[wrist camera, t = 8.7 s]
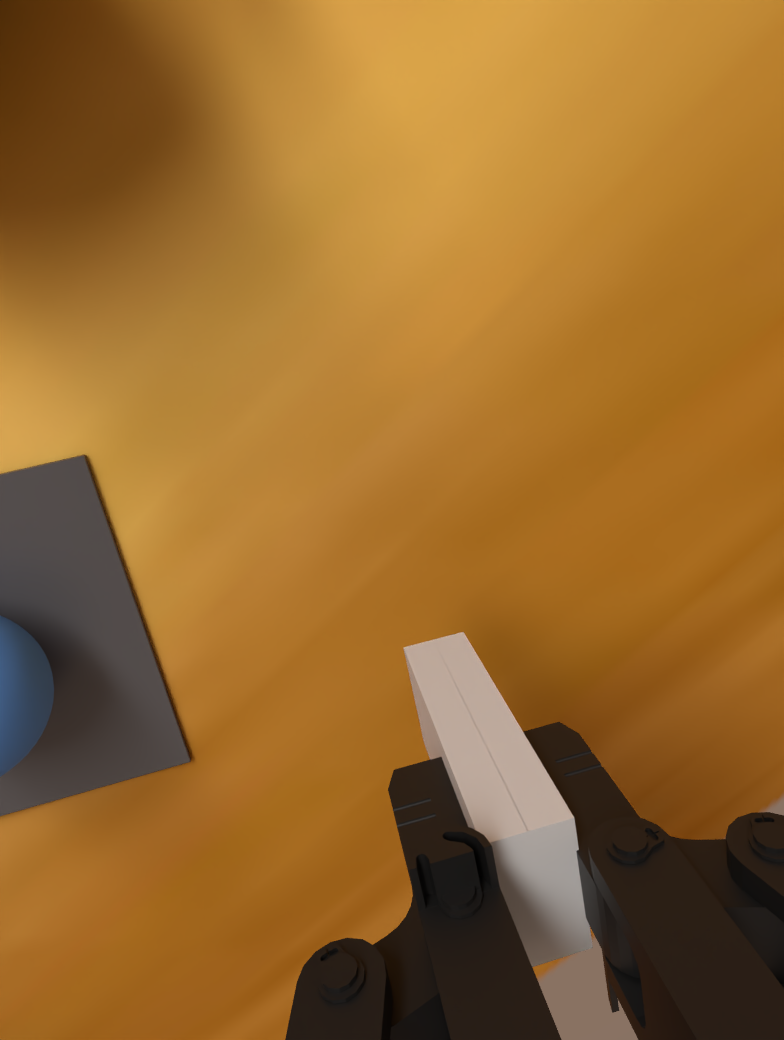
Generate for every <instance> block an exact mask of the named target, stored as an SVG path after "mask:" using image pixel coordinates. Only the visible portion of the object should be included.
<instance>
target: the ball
mask: <svg viewBox="0 0 784 1040" xmlns="http://www.w3.org/2000/svg"><path fill="white" fill-rule="evenodd" d="M53 700H54V684H53V674H52V671H51V667H50V664H49V661H48V659H47V657H46V655H45V653H44V651H43V650H42V648H41V647H40V645H39V643H38V642H37V641H36V640H35V639H34V638H33V637H32V635H30V634H29V633H28V632H27V631H26V630H24V629H23V628H22V627H21V626H19V625H18V624H16V623H14V622H13V621H11V620H9V619H7V618H5V617H3V616H0V777H1V776H2V775H4V774H5V773H7V772H8V771H9V770H11V769H12V768H13V767H14V766H16V765H17V764H18V763H19V762H20V761H21V760H22V759H23V758H24V757H25V756H26V755H27V754H28V753H29V752H30V751H31V749H32V748H33V747H34V746H35V744H36V743H37V741H38V740H39V738H40V737H41V735H42V733H43V731H44V729H45V727H46V725H47V722H48V719H49V716H50V713H51V710H52V705H53Z"/></svg>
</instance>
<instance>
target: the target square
mask: <svg viewBox="0 0 784 1040" xmlns="http://www.w3.org/2000/svg"><path fill="white" fill-rule="evenodd" d="M0 616H3V617H5V618H7V619H9V620H11V621H13V622H14V623H16V624H18V625H19V626H21V627H22V628H23V629H24V630H26V631H27V632H28V633H29V634H30V635H32V637H33V638H34V639H35V640H36V641H37V642H38V643H39V645H40V647H41V648H42V650H43V651H44V653H45V655H46V657H47V659H48V661H49V664H50V667H51V671H52V674H53V684H54V700H53V705H52V710H51V713H50V716H49V719H48V722H47V725H46V727H45V729H44V731H43V733H42V735H41V737H40V738H39V740H38V741H37V743H36V744H35V746H34V747H33V748H32V749H31V751H30V752H29V753H28V754H27V755H26V756H25V757H24V758H23V759H22V760H21V761H20V762H19V763H18V764H17V765H16V766H14V767H13V768H12V769H11V770H9V771H8V772H7V773H5V774H4V775H2V776H1V777H0V816H2V815H5V814H9V813H12V812H16V811H19V810H23V809H26V808H30V807H33V806H37V805H40V804H44V803H47V802H51V801H54V800H58V799H61V798H65V797H68V796H72V795H75V794H79V793H82V792H86V791H89V790H93V789H96V788H100V787H103V786H107V785H110V784H114V783H117V782H121V781H124V780H128V779H131V778H135V777H138V776H142V775H145V774H149V773H152V772H156V771H159V770H163V769H166V768H170V767H173V766H177V765H180V764H184V763H187V762H190V760H191V758H190V755H189V752H188V749H187V746H186V744H185V741H184V738H183V735H182V732H181V729H180V726H179V723H178V721H177V718H176V715H175V712H174V709H173V706H172V703H171V700H170V698H169V695H168V692H167V689H166V686H165V683H164V680H163V678H162V675H161V672H160V669H159V666H158V663H157V660H156V657H155V655H154V652H153V649H152V646H151V643H150V640H149V637H148V634H147V632H146V629H145V626H144V623H143V620H142V617H141V614H140V611H139V609H138V606H137V603H136V600H135V597H134V594H133V591H132V588H131V586H130V583H129V580H128V577H127V574H126V571H125V568H124V566H123V563H122V560H121V557H120V554H119V551H118V548H117V545H116V543H115V540H114V537H113V534H112V531H111V528H110V525H109V522H108V520H107V517H106V514H105V511H104V508H103V505H102V502H101V499H100V497H99V494H98V491H97V488H96V485H95V482H94V479H93V477H92V474H91V471H90V468H89V465H88V462H87V459H86V456H85V455H81V456H77V457H72V458H68V459H63V460H59V461H55V462H50V463H46V464H42V465H37V466H33V467H29V468H24V469H20V470H15V471H11V472H7V473H2V474H0Z"/></svg>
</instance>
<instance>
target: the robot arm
mask: <svg viewBox="0 0 784 1040" xmlns="http://www.w3.org/2000/svg"><path fill="white" fill-rule="evenodd" d="M404 652H405V657H406V662H407V666H408V671H409V675H410V680H411V685H412V689H413V694H414V698H415V703H416V707H417V712H418V717H419V721H420V726H421V730H422V735H423V740H424V743H425V746H426V749H427V752H428V755H429V757H430V760H427V761H424V762H420V763H417V764H413V765H410V766H406V767H402V768H399V769H395V770H394V771H393V775H392V778H391V781H390V785H389V788H388V791H389V795H390V799H391V803H392V807H393V811H394V816H395V820H396V824H397V828H398V832H399V836H400V840H401V844H402V848H403V853H404V857H405V861H406V865H407V869H408V873H409V877H410V881H411V885H412V890H413V898H412V903H411V907H410V909H409V911H408V913H407V915H406V917H405V918H404V920H403V921H402V922H401V923H400V925H399V926H398V927H397V928H396V929H395V930H393V931H392V932H391V933H390V934H388V935H387V936H386V937H384V938H383V939H381V940H380V941H378V942H377V943H375V944H374V945H372V944H370V943H368V942H366V941H365V940H363V939H353V938H345V939H341V940H337V941H333V942H330V943H329V944H327V945H325V946H324V947H322V948H321V949H319V950H318V951H316V952H315V953H314V954H313V955H312V957H311V958H310V959H309V960H308V961H307V962H306V964H305V965H304V966H303V969H302V971H301V974H300V976H299V979H298V981H297V985H296V990H295V995H294V1000H293V1005H292V1010H291V1015H290V1020H289V1024H288V1029H287V1034H286V1039H285V1040H561V1038H560V1035H559V1033H558V1030H557V1028H556V1025H555V1023H554V1020H553V1018H552V1015H551V1013H550V1010H549V1008H548V1005H547V1003H546V1000H545V998H544V996H543V993H542V991H541V988H540V986H539V983H538V981H537V978H536V976H535V973H534V971H533V968H532V967H534V966H537V965H540V964H543V963H546V962H550V961H553V960H556V959H559V958H562V957H565V956H569V955H572V954H575V953H578V952H581V951H584V950H588V949H591V948H593V946H592V939H591V932H590V927H591V929H592V931H593V933H594V935H595V937H596V939H597V940H598V942H599V944H600V946H601V948H602V953H603V961H604V968H605V975H606V982H607V990H608V997H609V1001H610V1005H611V1009H612V1012H616V1011H619V1007H618V1000H619V1002H620V1004H621V1006H622V1008H623V1010H624V1012H625V1014H626V1016H627V1018H628V1020H629V1022H630V1024H631V1026H632V1028H633V1030H634V1032H635V1033H636V1035H637V1038H638V1040H784V816H783V815H778V814H774V813H770V812H765V813H750V814H747V815H744V816H741V817H738V818H737V819H736V820H735V821H734V822H733V823H732V824H730V825H729V826H728V830H727V834H726V839H722V840H688V839H679V838H675V837H671V836H669V835H668V834H667V833H666V832H665V831H664V830H663V829H661V828H660V827H659V826H658V825H656V824H654V823H652V822H649V821H647V820H645V819H642V818H640V817H639V816H638V815H637V813H636V812H635V810H634V809H633V808H632V806H631V805H630V803H629V802H628V801H627V799H626V798H625V797H624V795H623V794H622V792H621V791H620V790H619V788H618V787H617V786H616V784H615V783H614V781H613V780H612V779H611V777H610V776H609V775H608V773H607V772H606V770H605V769H604V768H603V767H601V763H600V762H599V761H598V759H597V758H596V757H595V755H594V754H592V752H591V750H590V748H589V747H588V746H587V744H586V743H585V741H584V740H583V739H582V737H581V736H580V734H579V733H577V732H575V731H574V730H572V729H570V728H568V727H567V726H565V725H563V724H562V723H560V722H557V723H553V724H550V725H546V726H543V727H539V728H535V729H532V730H528V731H525V732H523V731H522V729H521V728H520V726H519V724H518V723H517V721H516V719H515V718H514V716H513V714H512V713H511V711H510V709H509V708H508V706H507V704H506V703H505V701H504V699H503V698H502V696H501V694H500V693H499V691H498V689H497V687H496V686H495V684H494V682H493V681H492V679H491V677H490V676H489V674H488V672H487V671H486V669H485V667H484V666H483V664H482V662H481V661H480V659H479V657H478V656H477V654H476V652H475V651H474V649H473V647H472V646H471V644H470V642H469V641H468V639H467V637H466V636H465V634H464V632H461V633H457V634H453V635H450V636H446V637H442V638H438V639H434V640H431V641H427V642H423V643H419V644H415V645H412V646H408V647H404ZM617 998H618V999H617Z"/></svg>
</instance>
